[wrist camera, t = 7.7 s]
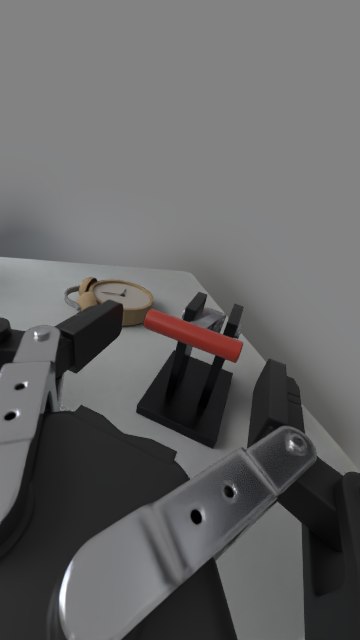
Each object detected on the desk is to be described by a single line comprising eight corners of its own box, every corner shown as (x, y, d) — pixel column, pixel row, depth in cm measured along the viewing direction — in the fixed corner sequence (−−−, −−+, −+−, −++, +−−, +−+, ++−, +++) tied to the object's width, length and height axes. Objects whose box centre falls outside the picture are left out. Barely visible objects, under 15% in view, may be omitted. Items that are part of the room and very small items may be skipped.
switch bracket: (212, 449, 24) (258, 355, 17) (135, 412, 26) (150, 315, 19) (230, 379, 33) (264, 300, 26) (172, 356, 35) (190, 277, 28)
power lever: (231, 376, 12) (247, 333, 12) (138, 338, 13) (150, 298, 13) (233, 340, 25) (241, 319, 24) (185, 323, 26) (192, 302, 25)
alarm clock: (161, 312, 39) (62, 295, 33) (152, 335, 41) (58, 323, 35) (149, 284, 48) (69, 265, 41) (142, 304, 50) (65, 290, 44)
